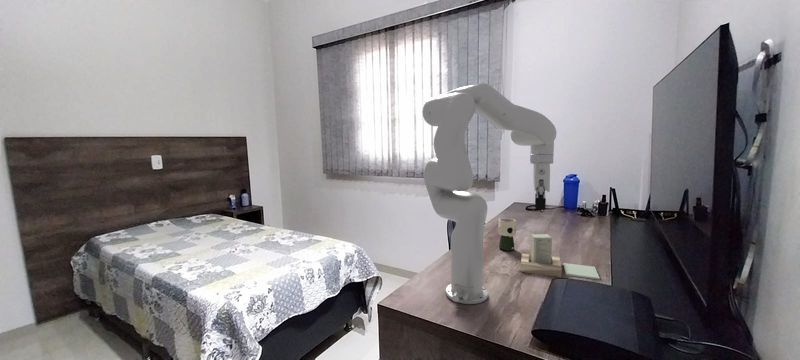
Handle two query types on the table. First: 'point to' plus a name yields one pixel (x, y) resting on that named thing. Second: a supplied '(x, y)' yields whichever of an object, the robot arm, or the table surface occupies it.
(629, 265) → the table surface
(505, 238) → the character mug
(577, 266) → the sage mat
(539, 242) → the skincare box
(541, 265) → the holder block
